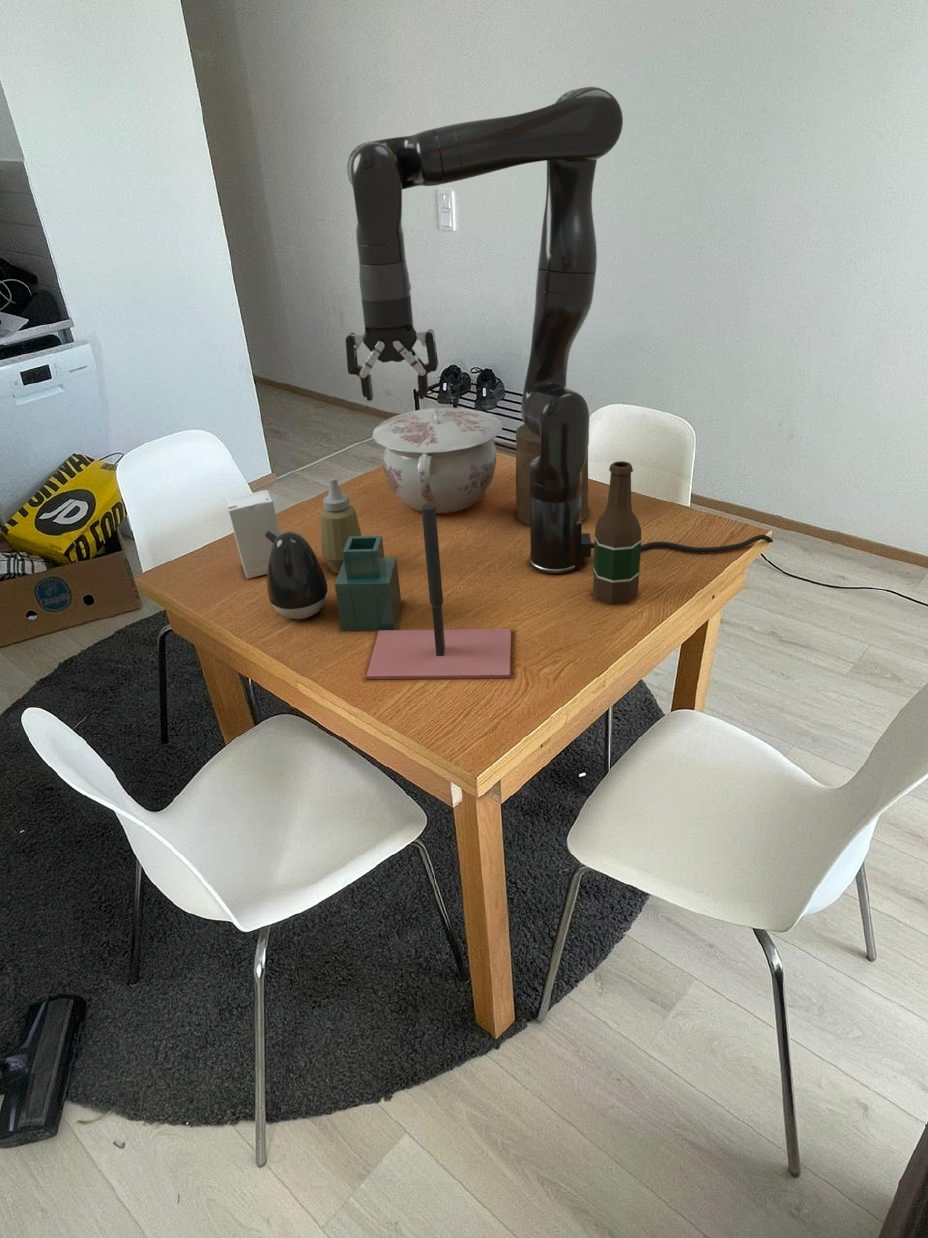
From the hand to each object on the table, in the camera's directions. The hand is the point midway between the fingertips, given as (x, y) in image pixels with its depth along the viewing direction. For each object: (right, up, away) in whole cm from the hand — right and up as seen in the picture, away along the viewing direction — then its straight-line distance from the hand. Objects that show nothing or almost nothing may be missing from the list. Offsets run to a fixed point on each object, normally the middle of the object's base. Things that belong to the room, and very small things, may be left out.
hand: (396, 398), depth 134 cm
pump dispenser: (-18, -35, +11) cm, 40 cm away
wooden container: (+30, -14, +40) cm, 51 cm away
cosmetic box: (-28, -26, +26) cm, 46 cm away
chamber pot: (+6, -10, +48) cm, 50 cm away
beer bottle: (+37, -32, +10) cm, 50 cm away
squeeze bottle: (-12, -26, +24) cm, 38 cm away
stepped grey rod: (+7, -41, -3) cm, 42 cm away
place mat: (+7, -41, -3) cm, 42 cm away
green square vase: (-5, -35, +8) cm, 37 cm away
